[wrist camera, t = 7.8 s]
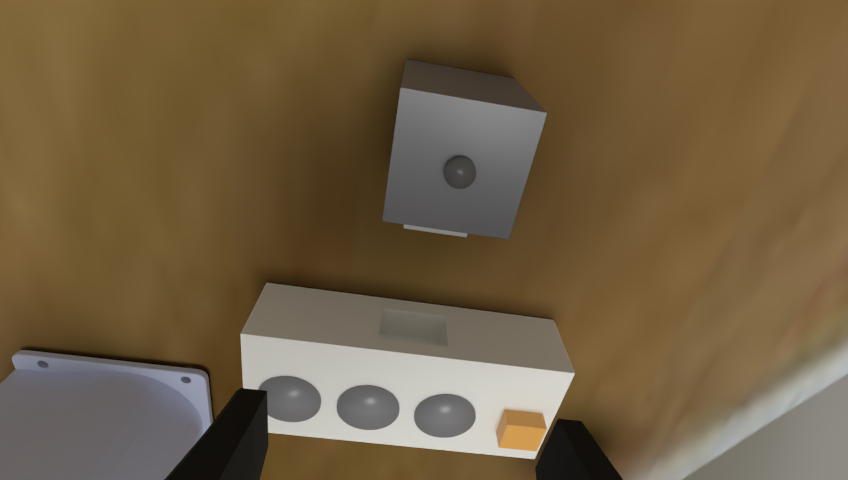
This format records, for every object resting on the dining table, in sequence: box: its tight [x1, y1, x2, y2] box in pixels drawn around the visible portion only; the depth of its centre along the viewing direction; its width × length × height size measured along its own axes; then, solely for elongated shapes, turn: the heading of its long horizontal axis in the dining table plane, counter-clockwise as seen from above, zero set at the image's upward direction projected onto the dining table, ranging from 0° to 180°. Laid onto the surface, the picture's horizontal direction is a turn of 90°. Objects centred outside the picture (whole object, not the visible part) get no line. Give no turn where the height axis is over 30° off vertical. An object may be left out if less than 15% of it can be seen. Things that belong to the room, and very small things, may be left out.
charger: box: [382, 59, 547, 239], centre depth 15 cm, size 4×6×5 cm
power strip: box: [240, 283, 575, 459], centre depth 21 cm, size 14×6×4 cm, turn 80°
